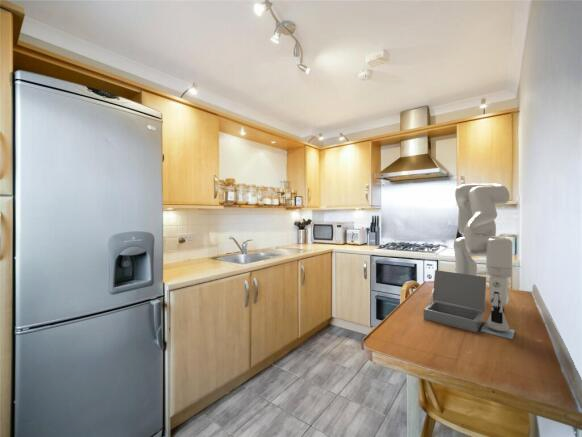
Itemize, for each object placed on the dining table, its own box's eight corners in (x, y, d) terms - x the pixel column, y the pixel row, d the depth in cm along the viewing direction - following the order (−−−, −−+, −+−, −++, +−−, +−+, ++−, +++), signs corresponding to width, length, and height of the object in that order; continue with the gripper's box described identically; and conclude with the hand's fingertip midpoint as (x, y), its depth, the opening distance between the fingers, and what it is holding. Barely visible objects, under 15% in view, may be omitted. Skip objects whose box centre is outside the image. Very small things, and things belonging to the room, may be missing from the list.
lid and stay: (434, 301, 122) (434, 269, 122) (485, 312, 108) (486, 276, 108) (428, 306, 115) (428, 272, 115) (482, 318, 102) (482, 280, 102)
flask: (486, 322, 103) (487, 296, 103) (510, 327, 98) (511, 300, 98) (484, 327, 97) (484, 300, 97) (509, 334, 92) (509, 305, 92)
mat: (484, 324, 104) (484, 323, 104) (514, 331, 97) (514, 330, 97) (480, 331, 97) (480, 330, 97) (512, 339, 91) (512, 338, 91)
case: (434, 309, 119) (434, 299, 119) (483, 321, 107) (483, 309, 107) (423, 318, 109) (423, 307, 109) (476, 332, 96) (476, 319, 96)
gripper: (509, 276, 89) (508, 330, 89) (513, 269, 101) (512, 316, 101) (482, 273, 94) (481, 324, 94) (489, 266, 106) (488, 311, 106)
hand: (497, 319), depth 98 cm, fingers closed on flask, 4 cm apart
